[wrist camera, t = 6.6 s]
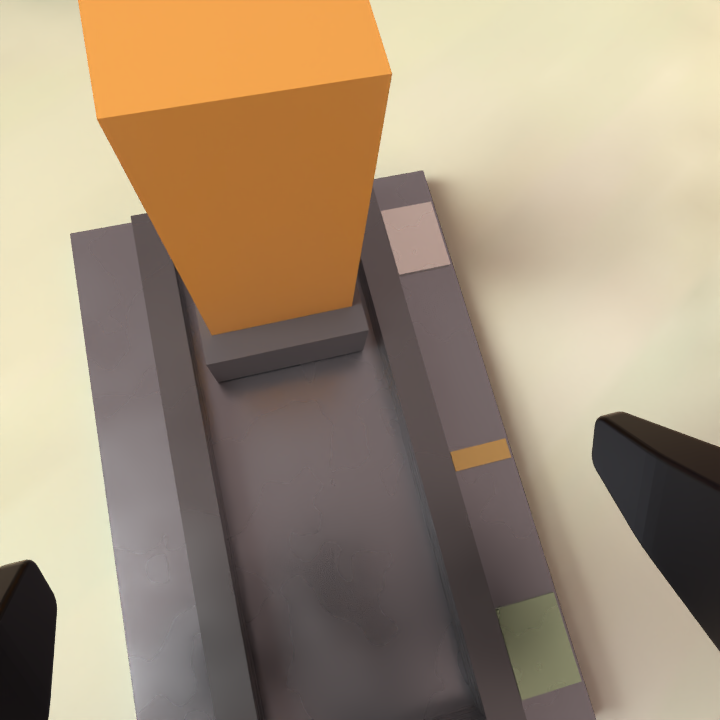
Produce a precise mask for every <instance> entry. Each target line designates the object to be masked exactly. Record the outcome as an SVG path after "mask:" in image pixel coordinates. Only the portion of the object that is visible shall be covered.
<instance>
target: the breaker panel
mask: <svg viewBox="0 0 720 720" xmlns="http://www.w3.org/2000/svg"><path fill="white" fill-rule="evenodd" d="M131 221H132V223H127V224H122V225H116V226H110V227H105V228H99V229H94V230H88V231H83V232H77V233H71V234H70V236H71V244H72V251H73V258H74V265H75V273H76V280H77V287H78V295H79V302H80V309H81V316H82V324H83V331H84V338H85V346H86V353H87V360H88V367H89V375H90V382H91V389H92V397H93V404H94V411H95V418H96V426H97V433H98V440H99V447H100V455H101V462H102V469H103V477H104V484H105V491H106V498H107V506H108V513H109V520H110V528H111V535H112V542H113V549H114V557H115V564H116V571H117V578H118V586H119V593H120V600H121V608H122V615H123V622H124V629H125V637H126V644H127V651H128V659H129V666H130V673H131V680H132V688H133V695H134V702H135V710H136V717H137V720H596V718H595V714H594V711H593V708H592V705H591V702H590V699H589V695H588V692H587V689H586V686H585V683H584V680H583V676H582V673H581V670H580V667H579V664H578V661H577V657H576V654H575V651H574V648H573V645H572V641H571V638H570V635H569V632H568V629H567V626H566V622H565V619H564V616H563V613H562V610H561V607H560V603H559V600H558V597H557V594H556V591H555V588H554V584H553V581H552V578H551V575H550V572H549V569H548V565H547V562H546V559H545V556H544V553H543V549H542V546H541V543H540V540H539V537H538V534H537V530H536V527H535V524H534V521H533V518H532V515H531V511H530V508H529V505H528V502H527V499H526V496H525V492H524V489H523V486H522V483H521V480H520V477H519V473H518V470H517V467H516V464H515V461H514V457H513V454H512V451H511V448H510V445H509V442H508V438H507V435H506V432H505V429H504V426H503V423H502V419H501V416H500V413H499V410H498V407H497V404H496V400H495V397H494V394H493V391H492V388H491V384H490V381H489V378H488V375H487V372H486V369H485V365H484V362H483V359H482V356H481V353H480V350H479V346H478V343H477V340H476V337H475V334H474V331H473V327H472V324H471V321H470V318H469V315H468V312H467V308H466V305H465V302H464V299H463V296H462V292H461V289H460V286H459V283H458V280H457V277H456V273H455V270H454V267H453V264H452V261H451V258H450V254H449V251H448V248H447V245H446V242H445V239H444V235H443V232H442V229H441V226H440V223H439V220H438V216H437V213H436V210H435V207H434V204H433V200H432V197H431V194H430V191H429V188H428V185H427V181H426V178H425V175H424V172H423V171H417V172H412V173H406V174H400V175H395V176H389V177H384V178H378V179H374V181H373V186H372V192H371V198H370V204H369V210H368V215H367V221H366V227H365V233H364V239H363V244H362V250H361V256H360V262H359V268H358V273H357V279H356V284H357V288H358V291H359V295H360V299H361V303H362V306H363V310H364V314H365V318H366V321H367V325H368V329H369V331H368V335H367V338H366V342H365V346H364V349H363V350H362V351H358V352H353V353H349V354H344V355H340V356H335V357H331V358H326V359H322V360H317V361H313V362H308V363H303V364H299V365H294V366H290V367H285V368H281V369H276V370H272V371H267V372H263V373H258V374H253V375H249V376H244V377H240V378H235V379H231V380H226V381H222V382H217V381H216V379H215V378H214V376H213V374H212V373H211V371H210V370H209V368H208V367H207V365H206V361H205V356H204V351H203V345H202V340H201V335H200V330H199V324H198V319H197V314H196V309H195V303H194V301H193V299H192V297H191V295H190V293H189V291H188V290H187V288H186V286H185V284H184V282H183V280H182V278H181V276H180V274H179V273H178V271H177V269H176V267H175V265H174V263H173V261H172V259H171V258H170V256H169V254H168V252H167V250H166V248H165V246H164V244H163V242H162V241H161V239H160V237H159V235H158V233H157V231H156V229H155V227H154V225H153V224H152V222H151V220H150V218H149V216H148V214H147V213H145V214H140V215H134V216H131Z"/></svg>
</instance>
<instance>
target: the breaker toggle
mask: <svg viewBox="0 0 720 720" xmlns="http://www.w3.org/2000/svg"><path fill="white" fill-rule="evenodd" d="M78 3H79V9H80V15H81V22H82V28H83V34H84V40H85V47H86V53H87V59H88V66H89V72H90V78H91V85H92V91H93V97H94V103H95V110H96V116H97V120H98V122H99V124H100V126H101V128H102V129H103V131H104V133H105V135H106V137H107V139H108V141H109V143H110V145H111V146H112V148H113V150H114V152H115V154H116V156H117V158H118V160H119V161H120V163H121V165H122V167H123V169H124V171H125V173H126V175H127V177H128V178H129V180H130V182H131V184H132V186H133V188H134V190H135V192H136V193H137V195H138V197H139V199H140V201H141V203H142V205H143V207H144V209H145V210H146V212H147V214H148V216H149V218H150V220H151V222H152V224H153V225H154V227H155V229H156V231H157V233H158V235H159V237H160V239H161V241H162V242H163V244H164V246H165V248H166V250H167V252H168V254H169V256H170V258H171V259H172V261H173V263H174V265H175V267H176V269H177V271H178V273H179V274H180V276H181V278H182V280H183V282H184V284H185V286H186V288H187V290H188V291H189V293H190V295H191V297H192V299H193V301H194V303H195V309H196V314H197V319H198V324H199V330H200V335H201V340H202V345H203V351H204V356H205V361H206V365H207V367H208V368H209V370H210V371H211V373H212V374H213V376H214V378H215V379H216V381H217V382H222V381H226V380H231V379H235V378H240V377H244V376H249V375H253V374H258V373H263V372H267V371H272V370H276V369H281V368H285V367H290V366H294V365H299V364H303V363H308V362H313V361H317V360H322V359H326V358H331V357H335V356H340V355H344V354H349V353H353V352H358V351H362V350H363V349H364V346H365V342H366V338H367V335H368V331H369V329H368V325H367V321H366V318H365V314H364V310H363V306H362V303H361V299H360V295H359V291H358V288H357V284H356V279H357V273H358V268H359V262H360V256H361V250H362V244H363V239H364V233H365V227H366V221H367V215H368V210H369V204H370V198H371V192H372V186H373V181H374V175H375V169H376V163H377V157H378V152H379V146H380V140H381V134H382V128H383V123H384V117H385V111H386V105H387V100H388V94H389V88H390V82H391V76H392V72H391V69H390V66H389V62H388V59H387V56H386V53H385V50H384V47H383V43H382V40H381V37H380V34H379V31H378V28H377V24H376V21H375V18H374V15H373V12H372V9H371V5H370V2H369V0H78Z"/></svg>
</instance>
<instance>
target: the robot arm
mask: <svg viewBox="0 0 720 720" xmlns="http://www.w3.org/2000/svg"><path fill="white" fill-rule="evenodd" d="M592 460H593V464H594V467H595V469H596V471H597V472H598V474H599V476H600V477H601V479H602V481H603V483H604V484H605V486H606V488H607V489H608V491H609V493H610V494H611V496H612V498H613V499H614V501H615V503H616V504H617V506H618V508H619V509H620V511H621V513H622V515H623V516H624V518H625V520H626V521H627V523H628V525H629V526H630V528H631V530H632V531H633V533H634V535H635V536H636V538H637V539H638V541H639V543H640V544H641V546H642V547H643V548H644V550H645V551H646V553H647V554H648V555H649V557H650V558H651V560H652V561H653V562H654V564H655V565H656V566H657V568H658V569H659V570H660V572H661V573H662V574H663V576H664V577H665V578H666V580H667V581H668V582H669V584H670V585H671V587H672V588H673V589H674V591H675V592H676V593H677V595H678V596H679V597H680V599H681V600H682V601H683V603H684V604H685V605H686V607H687V608H688V609H689V611H690V612H691V613H692V615H693V616H694V617H695V619H696V620H697V621H698V623H699V624H700V626H701V627H702V628H703V630H704V631H705V632H706V634H707V635H708V636H709V638H710V639H711V640H712V642H713V643H714V644H715V646H716V647H717V648H718V650H719V651H720V447H718V446H715V445H712V444H710V443H707V442H704V441H701V440H699V439H696V438H693V437H691V436H688V435H685V434H682V433H680V432H677V431H674V430H671V429H669V428H666V427H663V426H661V425H658V424H655V423H652V422H650V421H647V420H644V419H641V418H639V417H636V416H633V415H631V414H628V413H625V412H615V413H611V414H607V415H603V416H600V417H599V418H598V419H597V420H596V422H595V429H594V438H593V448H592ZM56 617H57V604H56V599H55V596H54V594H53V592H52V590H51V588H50V587H49V585H48V583H47V582H46V580H45V578H44V576H43V575H42V573H41V571H40V570H39V568H38V566H37V565H36V564H35V562H33V561H32V560H23V561H19V562H15V563H11V564H7V565H4V566H1V567H0V720H48V717H49V708H50V698H51V685H52V672H53V658H54V644H55V631H56Z"/></svg>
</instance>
